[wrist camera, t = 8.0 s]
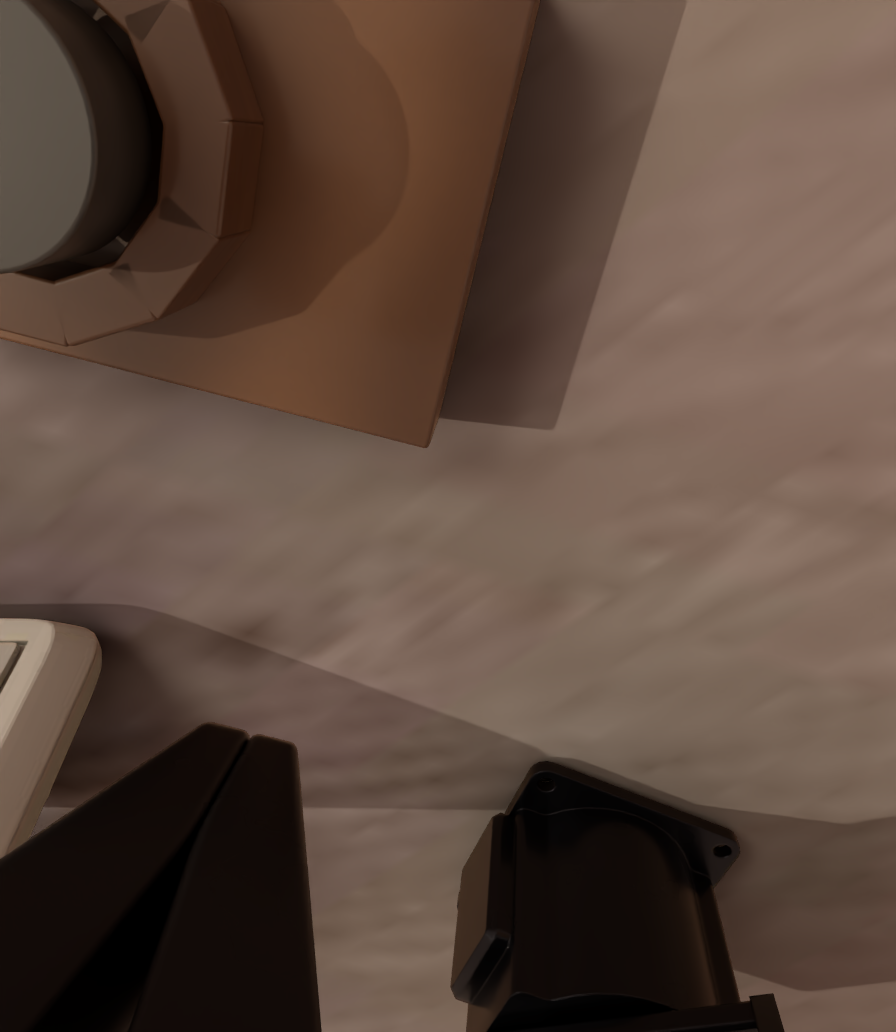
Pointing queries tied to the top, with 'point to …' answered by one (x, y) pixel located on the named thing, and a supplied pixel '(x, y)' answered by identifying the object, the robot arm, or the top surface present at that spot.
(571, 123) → the top surface
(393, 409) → the button box
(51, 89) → the button
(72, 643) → the digital clock
